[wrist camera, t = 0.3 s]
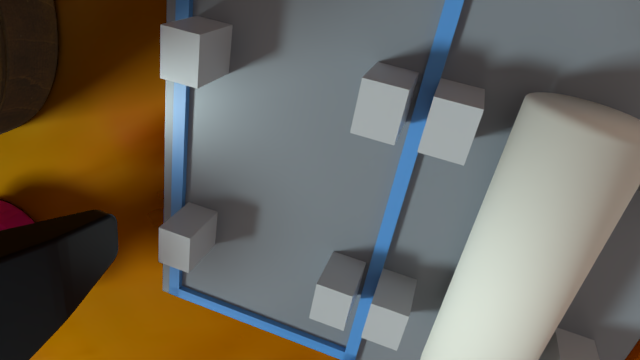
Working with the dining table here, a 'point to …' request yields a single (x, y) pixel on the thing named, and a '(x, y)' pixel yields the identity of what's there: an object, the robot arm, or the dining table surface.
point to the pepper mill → (12, 216)
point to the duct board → (373, 159)
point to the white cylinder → (538, 228)
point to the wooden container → (26, 59)
